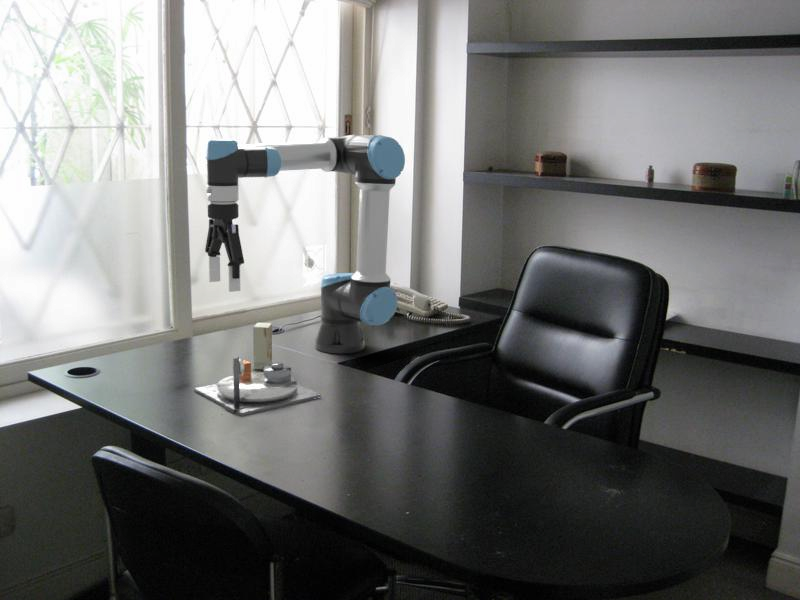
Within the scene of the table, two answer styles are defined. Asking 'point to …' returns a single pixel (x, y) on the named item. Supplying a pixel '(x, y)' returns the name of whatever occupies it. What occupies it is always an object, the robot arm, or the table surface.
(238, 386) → the post
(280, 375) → the cover
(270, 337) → the skincare box
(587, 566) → the table surface
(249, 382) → the platter
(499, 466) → the table surface
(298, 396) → the turntable base
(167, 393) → the table surface
